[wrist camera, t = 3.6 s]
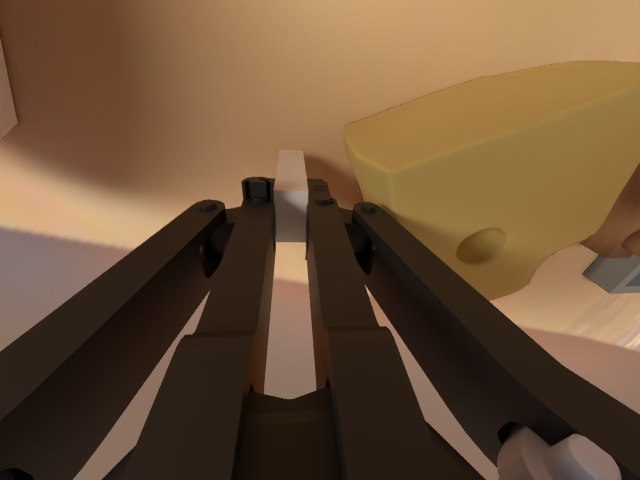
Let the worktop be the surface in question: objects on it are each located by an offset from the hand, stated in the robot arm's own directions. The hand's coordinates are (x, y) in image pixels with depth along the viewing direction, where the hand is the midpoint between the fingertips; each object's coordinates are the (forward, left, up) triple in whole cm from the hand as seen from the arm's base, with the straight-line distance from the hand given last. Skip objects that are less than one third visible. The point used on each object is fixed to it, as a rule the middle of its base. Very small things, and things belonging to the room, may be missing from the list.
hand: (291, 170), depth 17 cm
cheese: (0, +10, -2) cm, 10 cm away
